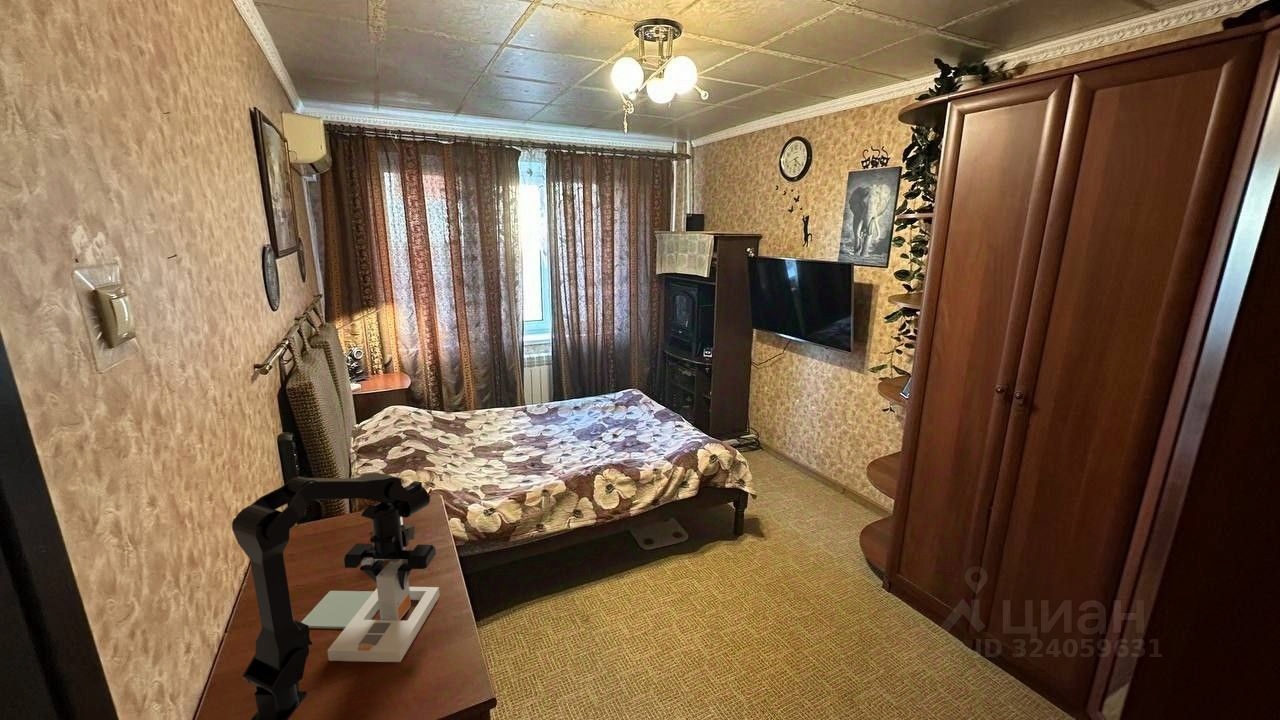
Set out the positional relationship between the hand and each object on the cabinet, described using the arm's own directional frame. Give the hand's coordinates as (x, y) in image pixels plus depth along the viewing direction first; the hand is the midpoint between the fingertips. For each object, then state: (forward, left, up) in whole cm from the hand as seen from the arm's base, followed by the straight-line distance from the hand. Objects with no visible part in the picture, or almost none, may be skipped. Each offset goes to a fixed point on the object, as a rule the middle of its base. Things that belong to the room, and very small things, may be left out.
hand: (393, 588), depth 119 cm
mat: (+1, +14, -7) cm, 16 cm away
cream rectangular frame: (-5, 0, -7) cm, 9 cm away
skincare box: (0, 0, -7) cm, 7 cm away
